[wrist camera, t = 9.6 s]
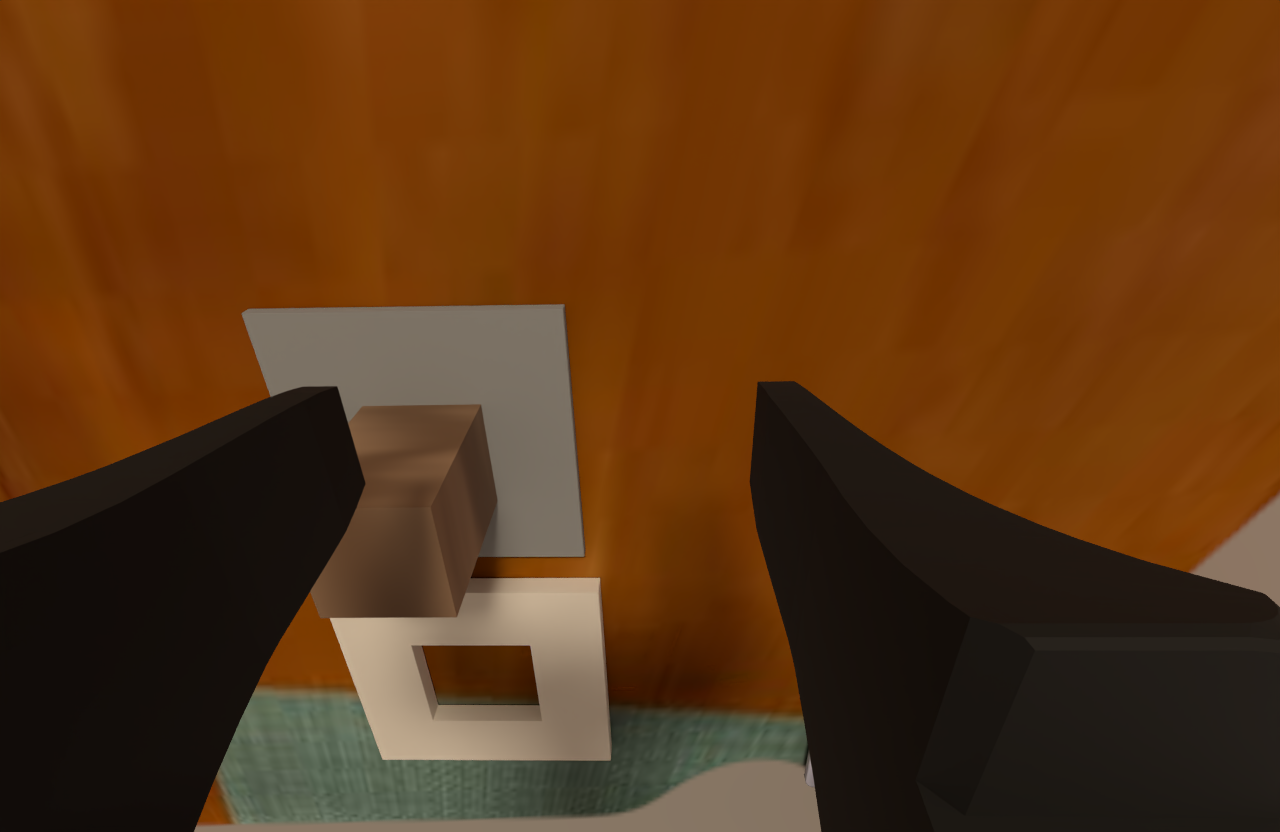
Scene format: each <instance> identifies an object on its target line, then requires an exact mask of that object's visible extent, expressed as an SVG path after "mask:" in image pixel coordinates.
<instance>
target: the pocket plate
mask: <svg viewBox="0 0 1280 832" xmlns="http://www.w3.org/2000/svg"><path fill="white" fill-rule="evenodd" d="M330 620H331V622H332V625H333V628H334V630H335V633H336V636H337V638H338V641H339V644H340V646H341V649H342V652H343V654H344V657H345V660H346V662H347V665H348V668H349V670H350V673H351V676H352V679H353V681H354V684H355V687H356V689H357V692H358V695H359V697H360V700H361V703H362V705H363V708H364V711H365V713H366V716H367V719H368V721H369V724H370V727H371V729H372V732H373V735H374V737H375V740H376V743H377V745H378V748H379V751H380V753H381V756H382V759H383V760H572V761H611V749H612V741H611V727H610V713H609V698H608V684H607V670H606V656H605V642H604V628H603V614H602V600H601V585H600V578H470V581H469V584H468V587H467V590H466V593H465V596H464V598H463V601H462V604H461V607H460V610H459V613H458V616H457V617H432V618H330ZM422 645H530V647H531V653H532V660H533V666H534V673H535V679H536V685H537V692H538V698H539V705H438V702H437V699H436V695H435V692H434V688H433V684H432V681H431V677H430V674H429V670H428V667H427V663H426V660H425V656H424V652H423V649H422Z"/></svg>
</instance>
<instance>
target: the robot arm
mask: <svg viewBox="0 0 1280 832" xmlns="http://www.w3.org/2000/svg"><path fill="white" fill-rule="evenodd" d="M365 484H366V483H365V480H364V476H363V473H362V469H361V466H360V462H359V459H358V455H357V452H356V449H355V445H354V442H353V438H352V435H351V431H350V428H349V424H348V421H347V418H346V414H345V411H344V407H343V404H342V400H341V397H340V393H339V390H338V387H337V386H308V387H299V388H296V389H292V390H289V391H286V392H283V393H280V394H277V395H274V396H272V397H269V398H267V399H264V400H262V401H259V402H257V403H255V404H252V405H250V406H247V407H245V408H243V409H240V410H238V411H236V412H233V413H231V414H229V415H227V416H224V417H222V418H220V419H218V420H215V421H213V422H211V423H208V424H206V425H204V426H202V427H199V428H197V429H195V430H192V431H190V432H188V433H186V434H183V435H181V436H179V437H176V438H174V439H171V440H169V441H166V442H164V443H162V444H159V445H157V446H154V447H152V448H149V449H147V450H145V451H142V452H140V453H137V454H135V455H132V456H130V457H127V458H125V459H123V460H120V461H118V462H115V463H113V464H110V465H108V466H105V467H103V468H100V469H97V470H95V471H92V472H89V473H86V474H84V475H81V476H78V477H75V478H73V479H70V480H67V481H64V482H61V483H58V484H55V485H52V486H49V487H46V488H43V489H40V490H37V491H34V492H32V493H29V494H26V495H23V496H19V497H16V498H13V499H10V500H7V501H4V502H0V832H194V830H195V827H196V825H197V822H198V820H199V817H200V815H201V812H202V810H203V807H204V804H205V802H206V799H207V797H208V794H209V792H210V789H211V786H212V784H213V782H214V779H215V777H216V775H217V772H218V770H219V768H220V766H221V763H222V761H223V759H224V756H225V754H226V752H227V749H228V747H229V745H230V742H231V740H232V738H233V735H234V733H235V731H236V729H237V726H238V724H239V722H240V719H241V717H242V715H243V713H244V711H245V709H246V707H247V705H248V703H249V700H250V698H251V696H252V694H253V692H254V690H255V688H256V686H257V684H258V681H259V679H260V677H261V675H262V673H263V671H264V669H265V667H266V665H267V663H268V661H269V659H270V657H271V656H272V654H273V652H274V650H275V648H276V647H277V645H278V643H279V641H280V639H281V638H282V636H283V635H284V633H285V631H286V630H287V628H288V626H289V625H290V623H291V622H292V620H293V618H294V617H295V615H296V613H297V612H298V610H299V609H300V607H301V605H302V604H303V602H304V600H305V599H306V597H307V596H308V594H309V592H310V591H311V589H312V587H313V586H314V584H315V583H316V581H317V579H318V578H319V576H320V574H321V573H322V571H323V570H324V568H325V566H326V565H327V563H328V561H329V560H330V558H331V556H332V555H333V553H334V551H335V550H336V548H337V546H338V545H339V543H340V541H341V539H342V538H343V536H344V534H345V532H346V531H347V528H348V526H349V524H350V522H351V519H352V517H353V515H354V512H355V510H356V508H357V505H358V502H359V500H360V497H361V495H362V492H363V489H364V487H365ZM750 486H751V493H752V501H753V508H754V515H755V521H756V528H757V532H758V536H759V539H760V543H761V547H762V550H763V554H764V557H765V561H766V564H767V568H768V571H769V575H770V578H771V582H772V585H773V589H774V592H775V595H776V599H777V602H778V606H779V609H780V613H781V616H782V620H783V623H784V627H785V630H786V633H787V637H788V641H789V645H790V649H791V653H792V657H793V662H794V666H795V672H796V677H797V683H798V689H799V694H800V700H801V706H802V711H803V717H804V723H805V729H806V735H807V741H808V748H809V752H808V758H807V763H806V769H805V774H804V776H805V781H806V784H807V785H808V786H811V787H815V791H816V798H817V804H818V811H819V818H820V825H821V832H1280V607H1279V606H1278V605H1277V604H1275V602H1274V601H1272V600H1271V599H1270V598H1269V597H1268V596H1267V595H1265V594H1263V593H1261V592H1257V591H1253V590H1250V589H1246V588H1242V587H1239V586H1235V585H1231V584H1228V583H1223V582H1220V581H1216V580H1212V579H1209V578H1205V577H1202V576H1198V575H1194V574H1191V573H1187V572H1183V571H1180V570H1176V569H1172V568H1169V567H1165V566H1161V565H1158V564H1154V563H1150V562H1147V561H1144V560H1140V559H1137V558H1134V557H1131V556H1128V555H1125V554H1122V553H1119V552H1116V551H1113V550H1110V549H1107V548H1104V547H1101V546H1098V545H1095V544H1092V543H1089V542H1086V541H1083V540H1080V539H1077V538H1074V537H1071V536H1069V535H1066V534H1063V533H1061V532H1058V531H1055V530H1052V529H1050V528H1047V527H1044V526H1042V525H1039V524H1037V523H1034V522H1032V521H1030V520H1027V519H1025V518H1022V517H1020V516H1018V515H1015V514H1013V513H1010V512H1008V511H1006V510H1003V509H1001V508H999V507H996V506H994V505H992V504H989V503H987V502H985V501H983V500H981V499H979V498H976V497H974V496H972V495H970V494H968V493H966V492H964V491H962V490H960V489H958V488H956V487H954V486H952V485H950V484H949V483H947V482H945V481H943V480H941V479H939V478H937V477H935V476H933V475H931V474H929V473H928V472H926V471H924V470H922V469H921V468H919V467H917V466H915V465H914V464H912V463H910V462H909V461H907V460H905V459H904V458H902V457H901V456H899V455H898V454H896V453H894V452H893V451H891V450H890V449H888V448H886V447H885V446H883V445H882V444H880V443H879V442H877V441H876V440H874V439H873V438H871V437H870V436H868V435H867V434H866V433H864V432H863V431H861V430H860V429H858V428H857V427H856V426H854V425H853V424H852V423H850V422H849V421H847V420H846V419H845V418H843V417H842V416H841V415H839V414H838V413H837V412H835V411H834V410H833V409H831V408H830V407H829V406H828V405H826V404H825V403H824V402H822V401H821V400H820V399H818V398H817V397H816V396H814V395H813V394H812V393H810V392H809V391H808V390H806V389H805V388H804V387H802V386H801V385H799V384H798V383H796V382H794V381H784V382H758V386H757V398H756V411H755V423H754V436H753V448H752V461H751V473H750Z"/></svg>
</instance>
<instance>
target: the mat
mask: <svg viewBox="0 0 1280 832" xmlns="http://www.w3.org/2000/svg"><path fill="white" fill-rule="evenodd" d="M242 316H243V319H244V322H245V325H246V328H247V330H248V333H249V336H250V339H251V342H252V345H253V348H254V350H255V353H256V356H257V359H258V362H259V365H260V367H261V370H262V373H263V376H264V379H265V382H266V384H267V387H268V390H269V393H270V396H271V397H272V396H274V395H277V394H280V393H283V392H286V391H289V390H292V389H296V388H299V387H308V386H337V387H338V390H339V393H340V397H341V400H342V404H343V407H344V411H345V414H346V418H347V421H348V423H349V422H350V420H351V419H352V418H353V417H354V416H355V414H356V413H357V412H358V411H359V410H360V408H361V407H362V406H402V405H471V404H481V407H482V413H483V419H484V425H485V431H486V436H487V442H488V448H489V454H490V459H491V465H492V471H493V477H494V483H495V488H496V494H497V500H498V501H497V504H496V507H495V509H494V512H493V515H492V518H491V521H490V524H489V527H488V530H487V532H486V535H485V538H484V541H483V544H482V547H481V550H480V553H479V555H478V557H584V554H585V542H584V530H583V518H582V506H581V494H580V482H579V470H578V458H577V446H576V435H575V423H574V411H573V399H572V387H571V375H570V363H569V351H568V339H567V327H566V315H565V304H564V305H492V306H420V307H347V308H275V309H248V310H246V311H244V312H243V313H242Z"/></svg>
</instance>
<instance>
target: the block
mask: <svg viewBox="0 0 1280 832" xmlns="http://www.w3.org/2000/svg"><path fill="white" fill-rule="evenodd" d="M348 424H349V428H350V431H351V435H352V438H353V442H354V445H355V449H356V452H357V455H358V459H359V462H360V466H361V469H362V473H363V476H364V480H365V483H366V484H365V487H364V489H363V492H362V495H361V497H360V500H359V502H358V505H357V508H356V510H355V512H354V515H353V517H352V519H351V522H350V524H349V526H348V528H347V531H346V532H345V534H344V536H343V538H342V539H341V541H340V543H339V545H338V546H337V548H336V550H335V551H334V553H333V555H332V556H331V558H330V560H329V561H328V563H327V565H326V566H325V568H324V570H323V571H322V573H321V574H320V576H319V578H318V579H317V581H316V583H315V584H314V586H313V587H312V589H311V591H310V592H311V595H312V598H313V600H314V603H315V605H316V608H317V610H318V613H319V615H320V618H432V617H457V616H458V613H459V610H460V607H461V604H462V601H463V598H464V596H465V593H466V590H467V587H468V584H469V581H470V578H471V576H472V573H473V570H474V567H475V564H476V561H477V558H478V555H479V553H480V550H481V547H482V544H483V541H484V538H485V535H486V532H487V530H488V527H489V524H490V521H491V518H492V515H493V512H494V509H495V507H496V504H497V501H498V500H497V494H496V488H495V483H494V477H493V471H492V465H491V459H490V454H489V448H488V442H487V436H486V431H485V425H484V419H483V413H482V407H481V404H471V405H402V406H362V407H361V408H360V410H359V411H358V412H357V413H356V414H355V416H354V417H353V418H352V419H351V420H350V422H349V423H348Z"/></svg>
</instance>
